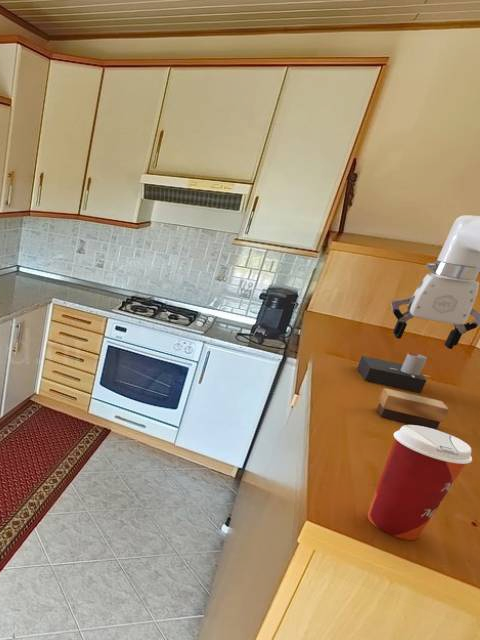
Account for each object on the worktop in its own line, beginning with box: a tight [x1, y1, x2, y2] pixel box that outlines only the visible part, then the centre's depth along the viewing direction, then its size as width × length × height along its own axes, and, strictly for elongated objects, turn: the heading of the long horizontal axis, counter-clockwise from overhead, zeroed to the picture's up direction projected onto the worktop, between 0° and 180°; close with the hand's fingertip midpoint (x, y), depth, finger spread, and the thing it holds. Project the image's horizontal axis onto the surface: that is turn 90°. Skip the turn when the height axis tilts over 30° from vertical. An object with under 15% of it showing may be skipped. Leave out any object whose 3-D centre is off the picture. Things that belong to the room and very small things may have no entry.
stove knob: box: [401, 352, 428, 375], centre depth 119 cm, size 4×4×5 cm
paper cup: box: [367, 424, 473, 541], centre depth 65 cm, size 8×8×14 cm
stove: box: [356, 355, 431, 394], centre depth 123 cm, size 12×11×4 cm
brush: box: [376, 387, 450, 430], centre depth 100 cm, size 10×4×5 cm, turn 61°
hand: (422, 342), depth 117 cm, fingers open, 9 cm apart
